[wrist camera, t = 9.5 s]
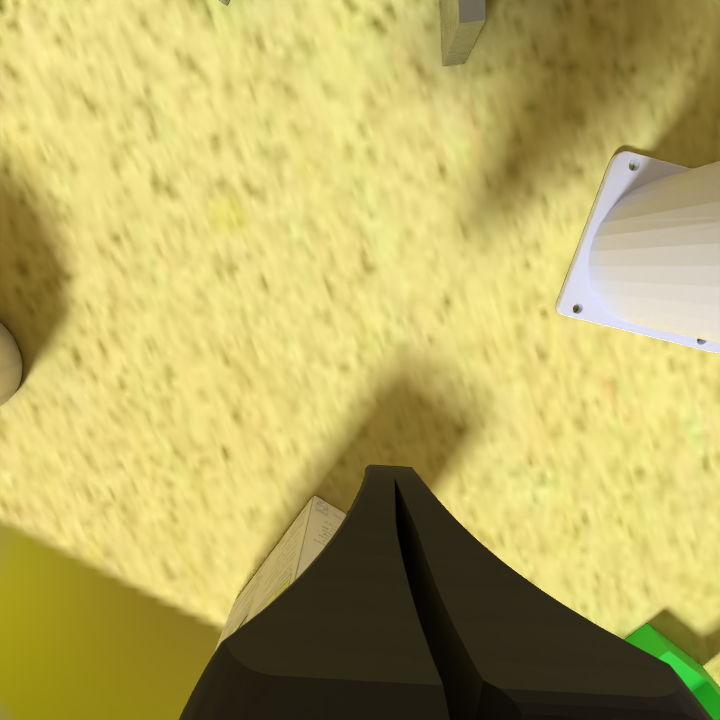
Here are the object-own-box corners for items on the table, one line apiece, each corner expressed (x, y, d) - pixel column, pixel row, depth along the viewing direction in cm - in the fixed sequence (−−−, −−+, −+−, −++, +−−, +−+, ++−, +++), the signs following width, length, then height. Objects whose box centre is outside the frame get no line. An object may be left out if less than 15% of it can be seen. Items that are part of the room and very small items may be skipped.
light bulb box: (313, 646, 26) (277, 908, 15) (229, 602, 25) (130, 849, 14) (400, 541, 23) (429, 765, 13) (311, 489, 22) (265, 685, 12)
